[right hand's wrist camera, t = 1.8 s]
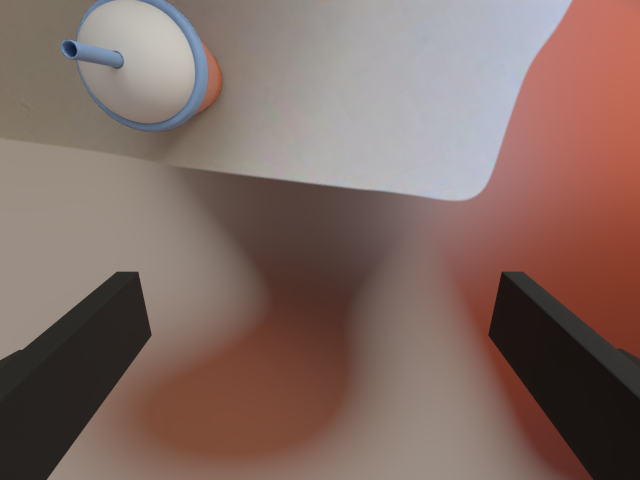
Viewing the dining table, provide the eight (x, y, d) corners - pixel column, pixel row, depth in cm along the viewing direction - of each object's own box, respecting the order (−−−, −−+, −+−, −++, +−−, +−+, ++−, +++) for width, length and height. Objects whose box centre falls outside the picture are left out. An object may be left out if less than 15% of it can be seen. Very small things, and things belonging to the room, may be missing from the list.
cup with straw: (164, 133, 36) (31, 157, 20) (129, 36, 33) (-65, -36, 16) (248, 114, 36) (185, 122, 19) (221, 13, 33) (116, -86, 16)
